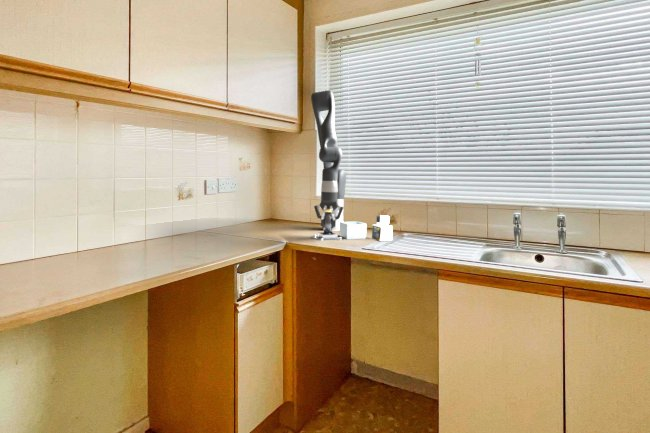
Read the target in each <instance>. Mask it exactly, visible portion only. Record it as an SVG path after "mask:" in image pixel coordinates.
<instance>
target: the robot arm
mask: <svg viewBox="0 0 650 433" xmlns="http://www.w3.org/2000/svg"><path fill="white" fill-rule="evenodd" d="M310 102H311V106H312V109H313V110H312V111H313V115H314V118H315V124H316V128H317V136H318V141H319V146H320V148H319V152H318V158H319V160H320V161H321V162H322V164H323V169H322V170H321V171H322V172H321V173H322V174H321V175H322V176H321V188H320V192H321V193H320V203H319V204H316V205H314V206H313V208H314V210H315V214H316V217H317V219H320V226H321V227H322V229H324V216H325V211H324V210H325V209H327V208H328V209H331V210H332V212H331V214H332V218H333V220H332V232H333V231H334V232H335V231H336V232H338V231H340V222H344V210H345V195H346V194H345V193H346V183H347V182H346V181H347V175H346V174H347V172H346V171H345V170H344V169H339V168H340V165H341V161H342V159H343V151H342V148H340V147H339V144H338V137H337V134H336V133H337V132H336V124H335V123H336V103H335V97H334V93H333V91H332V90H331V89H329V90H323V91H317V92H313V93H311V95H310ZM326 111H328V112H327V114H326V116H325V117H323V116H322V113H321V112H326ZM332 163H333V164H332ZM320 209H321V210H322V214H321V212H320Z"/></svg>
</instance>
